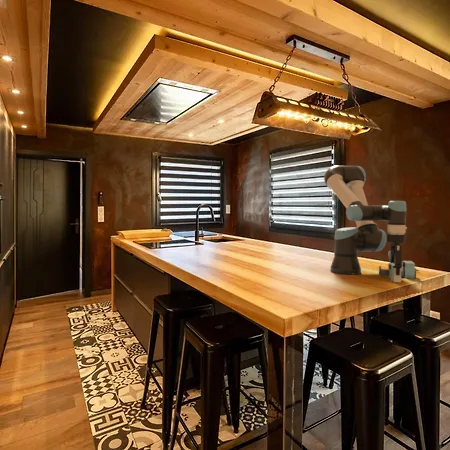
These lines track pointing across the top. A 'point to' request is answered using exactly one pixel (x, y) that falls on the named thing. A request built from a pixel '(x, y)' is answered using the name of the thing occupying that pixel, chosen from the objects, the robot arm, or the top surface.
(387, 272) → the grey green clamp
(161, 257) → the top surface
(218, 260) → the top surface
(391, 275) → the grey green block
